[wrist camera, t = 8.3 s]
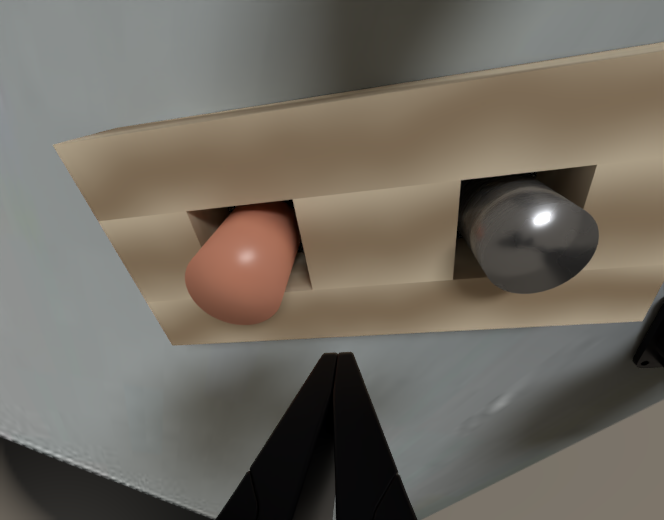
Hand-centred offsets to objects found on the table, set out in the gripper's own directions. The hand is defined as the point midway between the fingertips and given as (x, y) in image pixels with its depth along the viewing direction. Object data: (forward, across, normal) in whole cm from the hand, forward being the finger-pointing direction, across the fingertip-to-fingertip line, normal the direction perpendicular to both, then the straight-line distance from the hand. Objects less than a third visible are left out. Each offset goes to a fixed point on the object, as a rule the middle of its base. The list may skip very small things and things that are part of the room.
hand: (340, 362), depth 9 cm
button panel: (+11, -1, 0) cm, 11 cm away
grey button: (+10, -7, 0) cm, 13 cm away
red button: (+9, +5, 0) cm, 10 cm away
